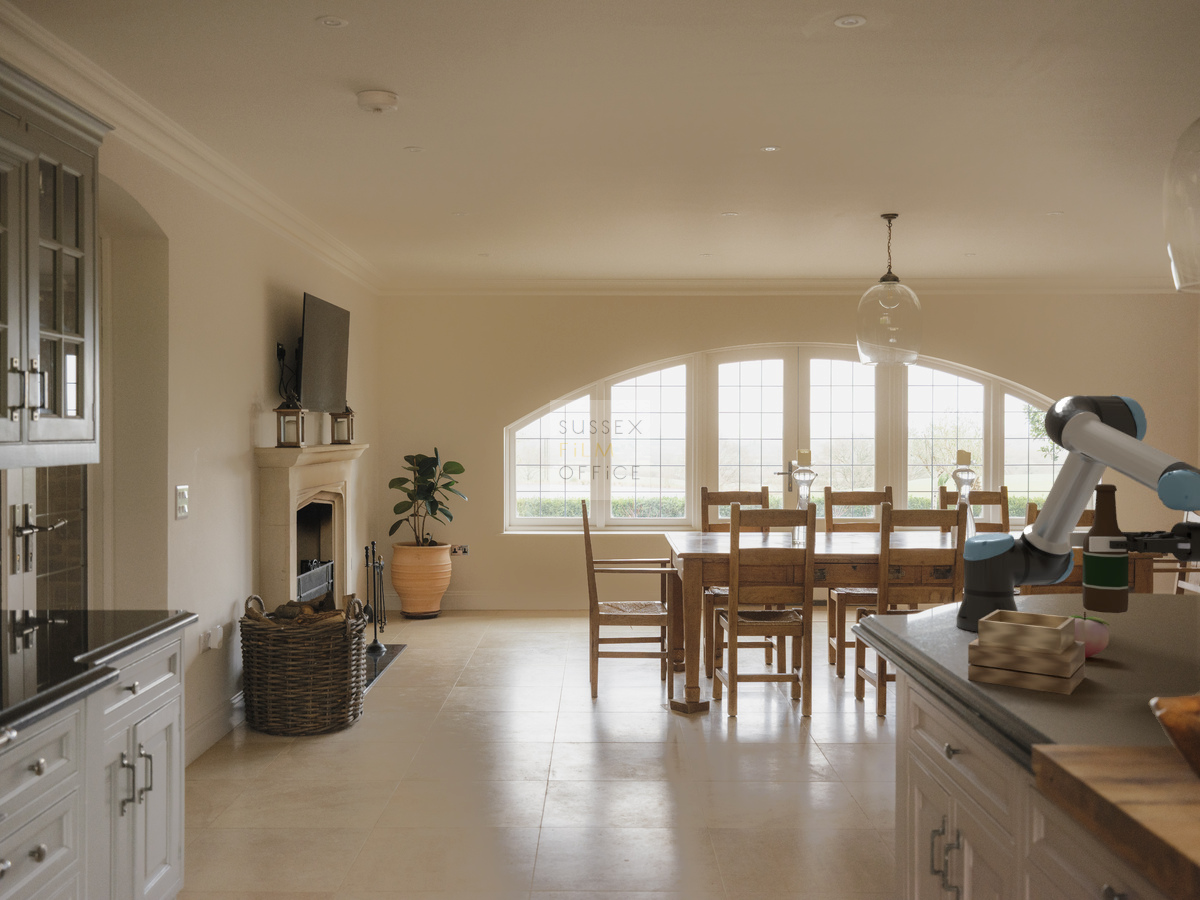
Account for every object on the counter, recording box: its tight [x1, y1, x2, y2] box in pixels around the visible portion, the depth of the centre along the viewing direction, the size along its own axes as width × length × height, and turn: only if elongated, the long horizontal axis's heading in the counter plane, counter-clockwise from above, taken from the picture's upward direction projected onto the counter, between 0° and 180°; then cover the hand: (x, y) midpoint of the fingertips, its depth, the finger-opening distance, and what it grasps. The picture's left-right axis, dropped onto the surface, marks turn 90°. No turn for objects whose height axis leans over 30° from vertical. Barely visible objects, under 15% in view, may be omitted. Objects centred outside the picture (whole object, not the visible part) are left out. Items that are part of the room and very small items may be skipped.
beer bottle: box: [1082, 483, 1130, 614], centre depth 175 cm, size 8×8×24 cm
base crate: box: [967, 637, 1086, 696], centre depth 180 cm, size 18×16×7 cm
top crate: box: [977, 610, 1075, 655], centre depth 180 cm, size 15×15×5 cm
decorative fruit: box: [1067, 611, 1110, 659], centre depth 198 cm, size 9×8×10 cm
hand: (1079, 541), depth 175 cm, fingers closed on beer bottle, 7 cm apart
